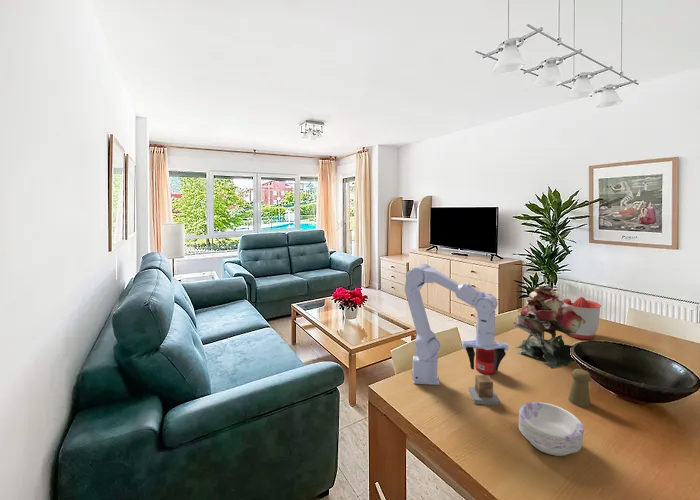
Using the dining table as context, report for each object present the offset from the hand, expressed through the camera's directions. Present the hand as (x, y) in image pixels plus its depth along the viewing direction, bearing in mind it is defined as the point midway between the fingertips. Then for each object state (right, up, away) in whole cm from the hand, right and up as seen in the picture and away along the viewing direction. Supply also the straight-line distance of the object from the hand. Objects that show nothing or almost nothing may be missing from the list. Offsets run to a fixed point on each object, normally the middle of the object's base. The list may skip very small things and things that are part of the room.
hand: (483, 368), depth 112 cm
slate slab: (0, -11, +1) cm, 11 cm away
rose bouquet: (+42, -5, +36) cm, 56 cm away
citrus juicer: (+70, -3, +54) cm, 89 cm away
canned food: (+9, -8, +20) cm, 23 cm away
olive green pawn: (+31, -11, -2) cm, 33 cm away
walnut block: (0, -9, +1) cm, 9 cm away
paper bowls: (+9, -13, -21) cm, 27 cm away
